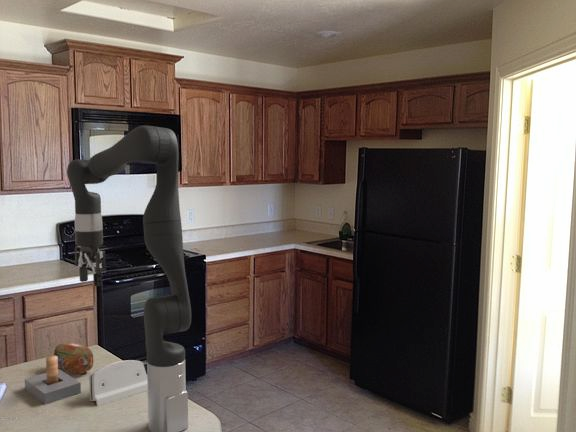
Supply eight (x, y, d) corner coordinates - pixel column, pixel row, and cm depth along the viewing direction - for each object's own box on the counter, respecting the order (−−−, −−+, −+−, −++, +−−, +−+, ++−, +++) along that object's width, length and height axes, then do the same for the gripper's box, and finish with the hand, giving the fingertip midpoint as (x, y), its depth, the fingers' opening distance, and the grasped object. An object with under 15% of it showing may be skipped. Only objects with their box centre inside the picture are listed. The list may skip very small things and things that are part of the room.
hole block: (80, 392, 151) (80, 382, 151) (45, 404, 144) (44, 393, 144) (59, 378, 161) (58, 369, 161) (25, 388, 154) (24, 378, 153)
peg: (60, 390, 152) (59, 357, 151) (49, 394, 150) (48, 360, 149) (55, 387, 154) (54, 354, 153) (45, 390, 152) (44, 357, 151)
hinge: (96, 406, 143) (90, 369, 145) (90, 406, 147) (84, 370, 148) (152, 388, 154) (146, 354, 156) (145, 389, 158) (139, 355, 159)
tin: (53, 367, 169) (52, 342, 168) (61, 364, 172) (60, 339, 171) (87, 376, 163) (87, 350, 162) (95, 372, 166) (94, 346, 165)
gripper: (113, 229, 151) (114, 285, 153) (89, 225, 161) (91, 277, 163) (88, 232, 146) (90, 290, 148) (65, 227, 156) (67, 281, 157)
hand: (90, 283), depth 155 cm, fingers open, 8 cm apart
